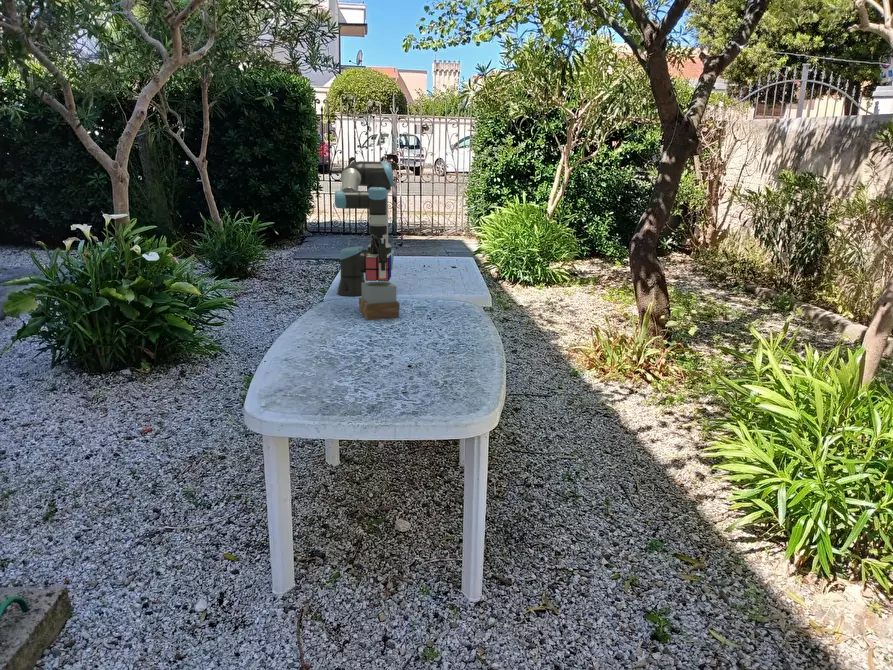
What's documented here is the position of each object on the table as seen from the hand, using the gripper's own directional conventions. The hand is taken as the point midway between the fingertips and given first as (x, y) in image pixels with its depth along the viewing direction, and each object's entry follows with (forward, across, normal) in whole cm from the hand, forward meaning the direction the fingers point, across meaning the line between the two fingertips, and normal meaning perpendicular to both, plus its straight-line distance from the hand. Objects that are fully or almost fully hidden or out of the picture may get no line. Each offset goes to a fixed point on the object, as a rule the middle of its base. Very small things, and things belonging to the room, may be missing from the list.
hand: (378, 275), depth 273 cm
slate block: (+11, 0, 0) cm, 11 cm away
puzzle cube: (+2, 0, 0) cm, 2 cm away
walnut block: (+18, 0, 0) cm, 18 cm away
